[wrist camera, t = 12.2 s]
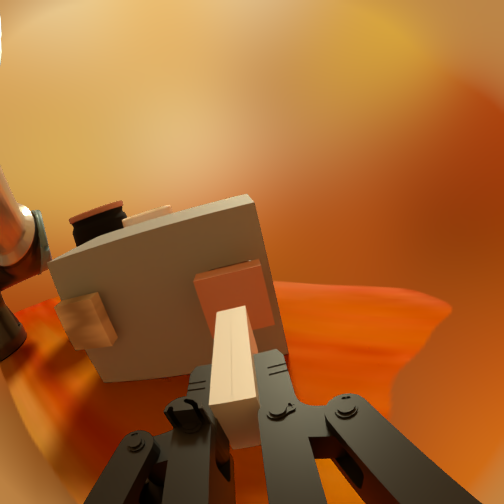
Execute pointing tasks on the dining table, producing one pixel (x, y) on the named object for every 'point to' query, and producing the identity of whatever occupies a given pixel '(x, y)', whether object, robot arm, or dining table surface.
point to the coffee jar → (97, 222)
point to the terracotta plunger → (235, 293)
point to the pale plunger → (86, 322)
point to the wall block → (165, 287)
